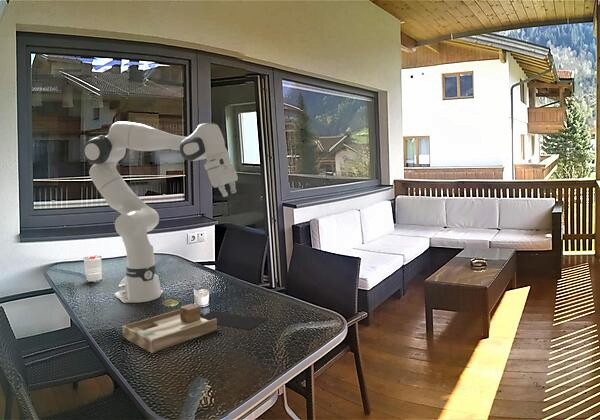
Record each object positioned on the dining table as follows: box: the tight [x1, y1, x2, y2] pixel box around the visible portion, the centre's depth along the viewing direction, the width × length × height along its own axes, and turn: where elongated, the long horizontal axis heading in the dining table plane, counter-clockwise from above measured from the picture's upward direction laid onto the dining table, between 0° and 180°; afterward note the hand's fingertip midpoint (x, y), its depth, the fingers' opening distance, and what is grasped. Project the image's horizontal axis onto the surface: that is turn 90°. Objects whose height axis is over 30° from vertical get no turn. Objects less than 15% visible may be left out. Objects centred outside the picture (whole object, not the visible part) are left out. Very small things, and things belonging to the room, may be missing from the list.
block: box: [179, 303, 201, 324], centre depth 169 cm, size 5×5×5 cm
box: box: [121, 308, 218, 354], centre depth 163 cm, size 20×25×4 cm
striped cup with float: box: [83, 255, 103, 281], centre depth 235 cm, size 10×8×12 cm
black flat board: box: [200, 310, 268, 331], centre depth 177 cm, size 12×1×30 cm
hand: (230, 194), depth 191 cm, fingers open, 8 cm apart
